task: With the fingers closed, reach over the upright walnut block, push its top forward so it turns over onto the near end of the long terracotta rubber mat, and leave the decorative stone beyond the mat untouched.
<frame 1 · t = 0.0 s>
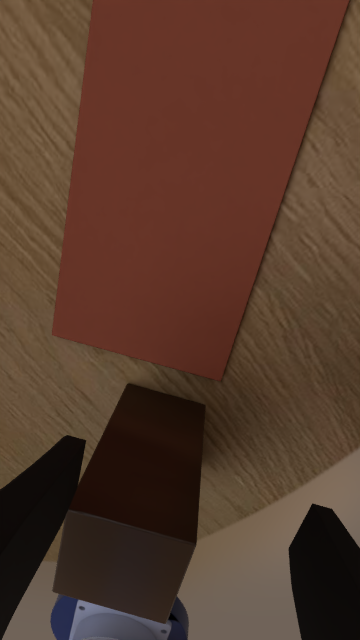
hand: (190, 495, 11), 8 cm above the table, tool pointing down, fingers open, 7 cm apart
walnut block: (157, 425, 19), on the table
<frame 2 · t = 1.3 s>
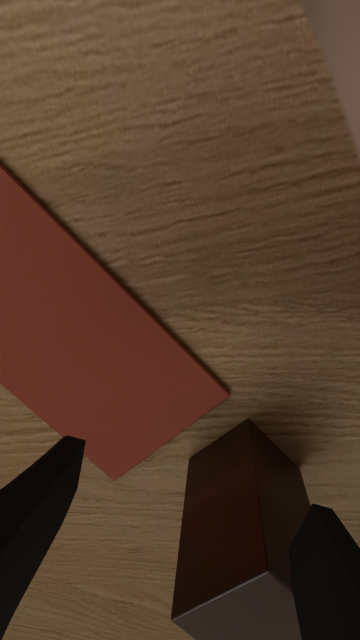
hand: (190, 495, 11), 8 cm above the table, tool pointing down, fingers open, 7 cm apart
walnut block: (243, 464, 19), on the table
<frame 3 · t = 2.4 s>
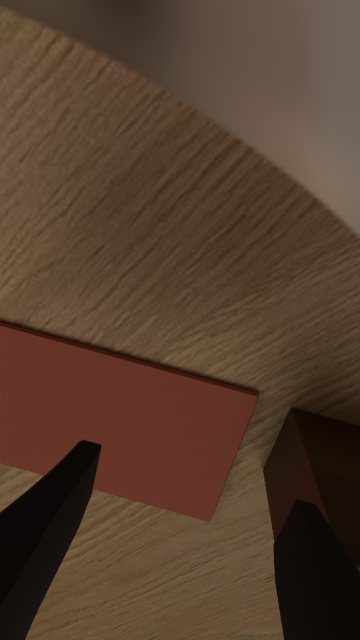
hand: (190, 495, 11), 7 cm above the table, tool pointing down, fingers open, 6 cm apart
walnut block: (316, 451, 18), on the table
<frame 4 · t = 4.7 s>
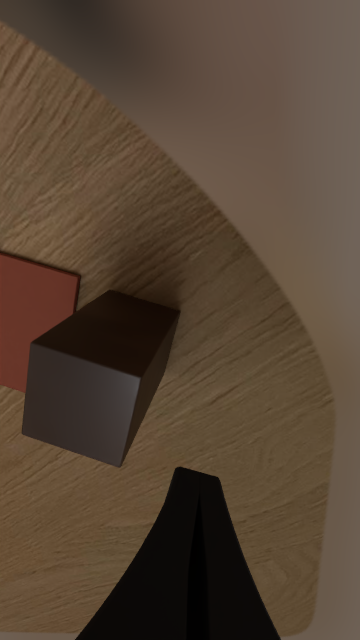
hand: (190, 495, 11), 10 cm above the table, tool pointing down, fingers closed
walnut block: (137, 333, 21), on the table
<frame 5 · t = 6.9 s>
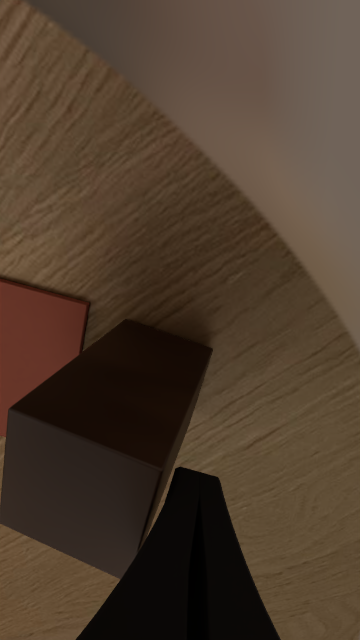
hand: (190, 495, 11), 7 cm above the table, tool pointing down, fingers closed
walnut block: (158, 372, 17), on the table, tilted 8°, touching gripper
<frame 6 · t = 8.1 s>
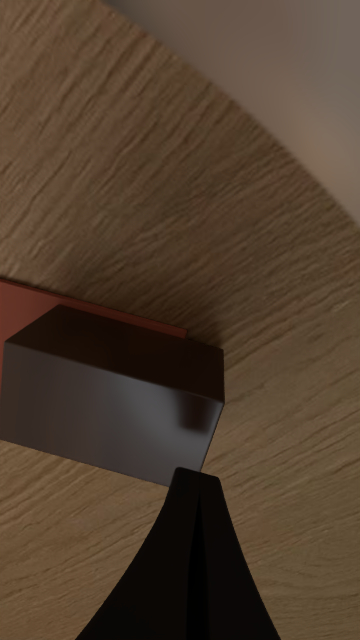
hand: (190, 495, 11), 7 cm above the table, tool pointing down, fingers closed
walnut block: (209, 415, 15), point 3 cm above the table, tilted 90°, touching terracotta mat
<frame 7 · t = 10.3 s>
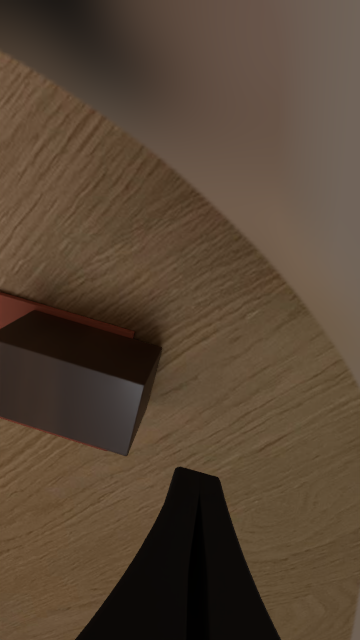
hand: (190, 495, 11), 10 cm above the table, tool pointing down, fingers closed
walnut block: (146, 398, 19), point 3 cm above the table, tilted 90°, touching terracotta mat
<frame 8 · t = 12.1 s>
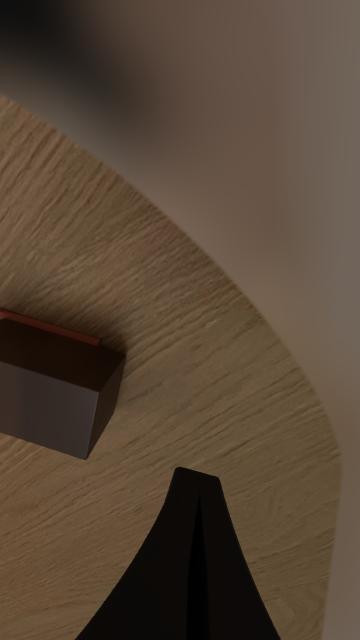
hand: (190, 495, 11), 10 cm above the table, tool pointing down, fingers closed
walnut block: (107, 404, 20), point 3 cm above the table, tilted 90°, touching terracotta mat
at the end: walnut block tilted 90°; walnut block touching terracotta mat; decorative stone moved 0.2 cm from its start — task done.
